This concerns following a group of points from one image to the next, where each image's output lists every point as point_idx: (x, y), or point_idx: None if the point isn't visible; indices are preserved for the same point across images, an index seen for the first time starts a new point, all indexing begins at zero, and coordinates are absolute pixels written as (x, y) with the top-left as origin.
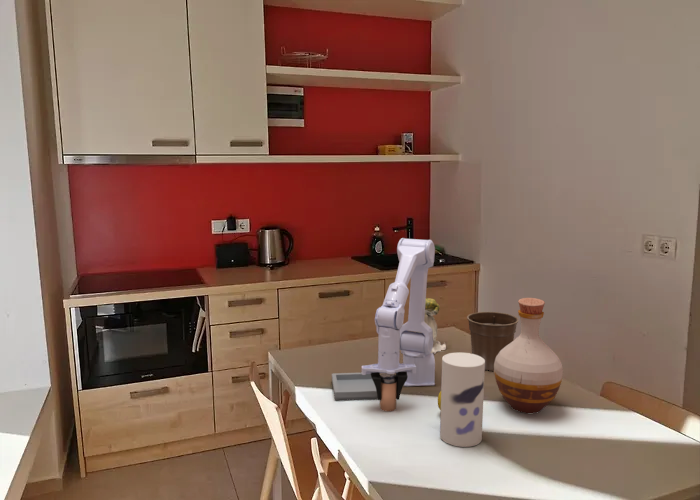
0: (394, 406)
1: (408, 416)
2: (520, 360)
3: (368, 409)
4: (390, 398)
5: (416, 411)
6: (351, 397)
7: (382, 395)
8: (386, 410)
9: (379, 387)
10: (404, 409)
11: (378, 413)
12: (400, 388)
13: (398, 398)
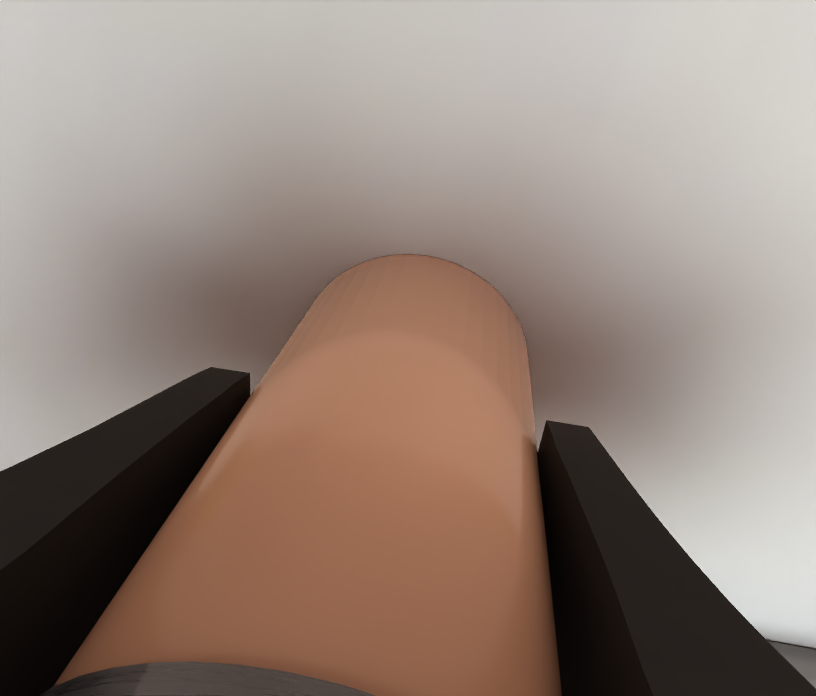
0: (326, 297)
1: (158, 8)
2: None
3: (706, 388)
4: (373, 354)
5: (28, 169)
6: (811, 680)
7: (528, 466)
8: (467, 273)
9: (672, 645)
10: (194, 271)
11: (615, 230)
12: (24, 487)
13: (209, 374)
